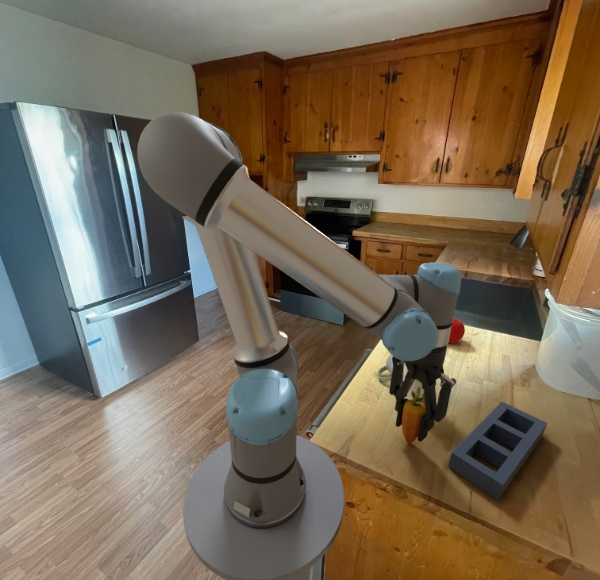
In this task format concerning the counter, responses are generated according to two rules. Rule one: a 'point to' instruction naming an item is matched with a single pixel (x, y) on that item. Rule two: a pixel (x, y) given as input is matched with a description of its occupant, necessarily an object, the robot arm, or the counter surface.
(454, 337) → the fruit
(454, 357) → the counter surface
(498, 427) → the block with rectangular holes
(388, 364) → the ceramic mug
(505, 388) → the counter surface
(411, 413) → the carrot
